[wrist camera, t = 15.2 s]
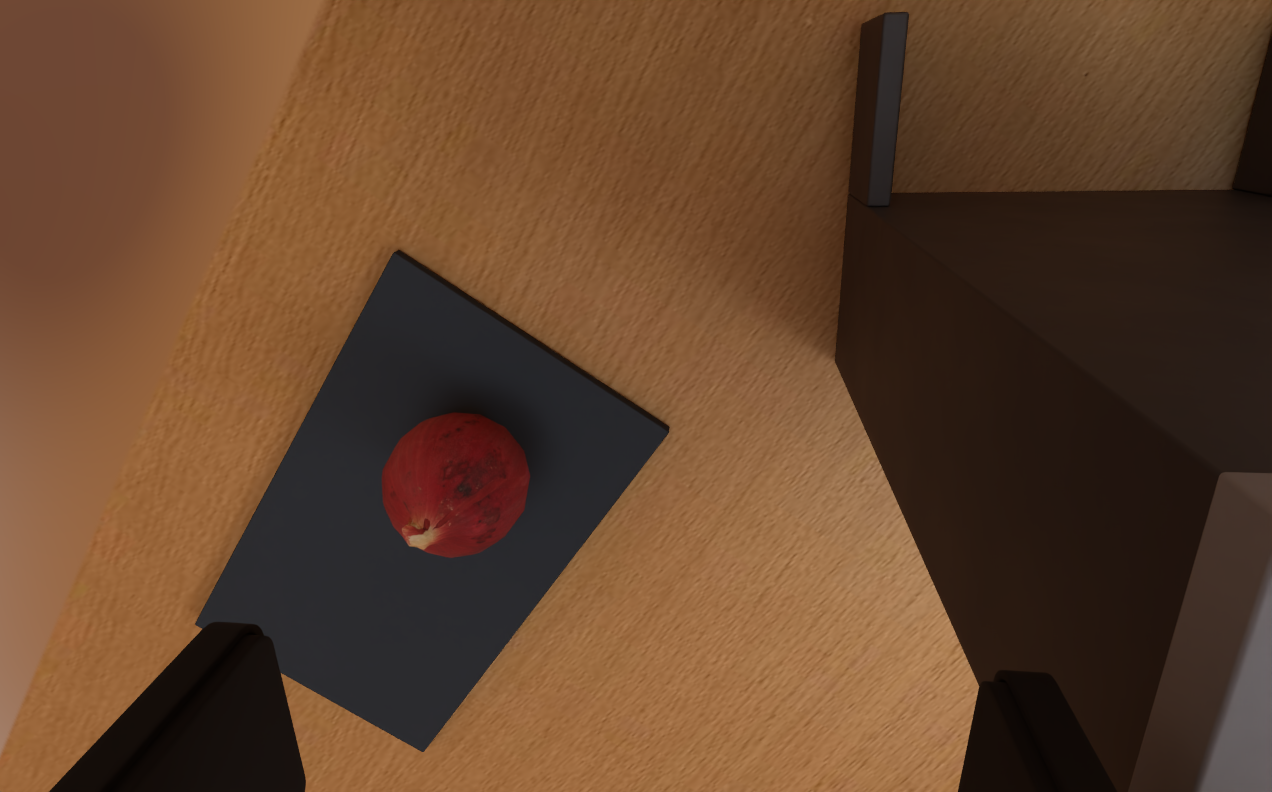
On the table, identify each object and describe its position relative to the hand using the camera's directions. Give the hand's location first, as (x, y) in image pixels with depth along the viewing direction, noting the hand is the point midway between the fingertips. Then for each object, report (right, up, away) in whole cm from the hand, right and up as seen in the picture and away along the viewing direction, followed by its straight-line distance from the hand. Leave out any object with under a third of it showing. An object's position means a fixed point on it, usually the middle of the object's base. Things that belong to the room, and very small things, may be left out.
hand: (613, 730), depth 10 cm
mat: (-11, -2, +28) cm, 30 cm away
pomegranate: (-7, +2, +25) cm, 26 cm away
